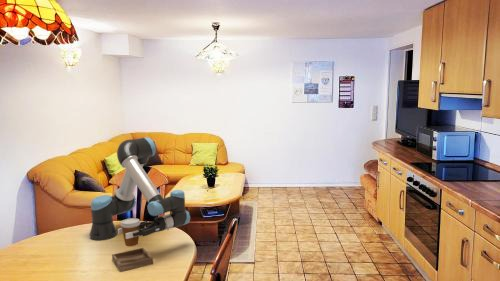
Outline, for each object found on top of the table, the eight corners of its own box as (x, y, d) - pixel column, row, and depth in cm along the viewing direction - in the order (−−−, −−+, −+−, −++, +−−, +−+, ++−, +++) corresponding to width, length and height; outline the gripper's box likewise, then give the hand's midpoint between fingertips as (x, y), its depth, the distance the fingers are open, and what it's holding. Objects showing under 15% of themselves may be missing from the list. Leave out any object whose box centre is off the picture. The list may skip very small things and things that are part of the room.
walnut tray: (112, 260, 207) (112, 254, 206) (143, 253, 215) (142, 247, 215) (120, 272, 193) (120, 266, 193) (153, 264, 202) (152, 258, 201)
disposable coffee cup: (136, 248, 197) (134, 224, 196) (118, 247, 199) (116, 223, 198) (144, 241, 207) (143, 218, 205) (127, 239, 208) (126, 217, 207)
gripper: (173, 235, 207) (132, 247, 192) (153, 225, 222) (113, 235, 207) (173, 220, 206) (131, 231, 191) (152, 212, 221) (112, 221, 206)
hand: (122, 233), depth 199 cm, fingers closed on disposable coffee cup, 8 cm apart
